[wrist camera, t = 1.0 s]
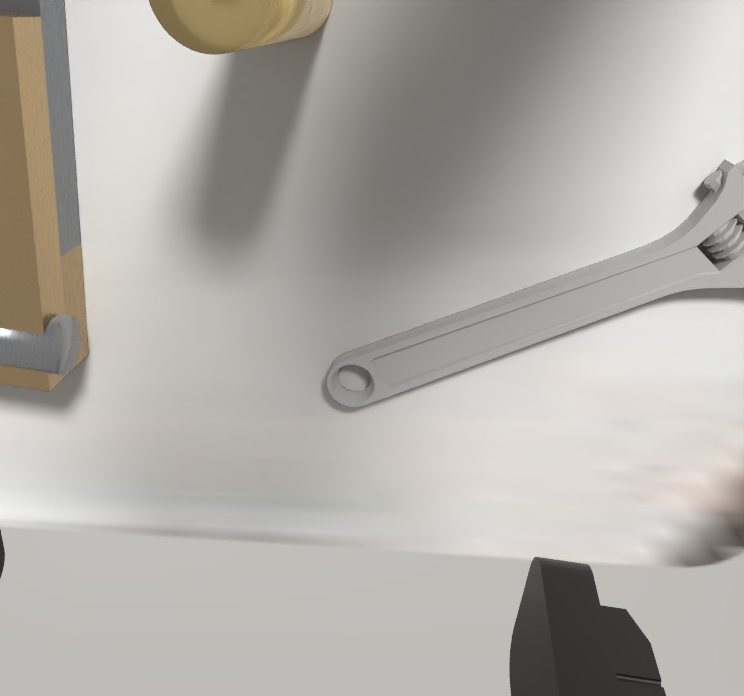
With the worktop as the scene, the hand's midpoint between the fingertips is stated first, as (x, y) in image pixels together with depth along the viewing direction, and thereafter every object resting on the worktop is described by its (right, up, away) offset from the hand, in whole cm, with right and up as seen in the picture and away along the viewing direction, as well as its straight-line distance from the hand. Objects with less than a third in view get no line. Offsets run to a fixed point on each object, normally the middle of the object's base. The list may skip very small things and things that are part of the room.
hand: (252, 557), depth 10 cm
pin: (-2, +17, +18) cm, 25 cm away
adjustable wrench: (+11, +6, +23) cm, 26 cm away
